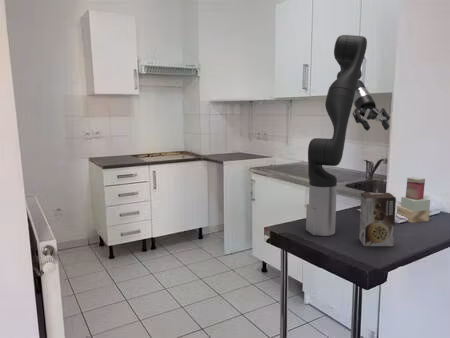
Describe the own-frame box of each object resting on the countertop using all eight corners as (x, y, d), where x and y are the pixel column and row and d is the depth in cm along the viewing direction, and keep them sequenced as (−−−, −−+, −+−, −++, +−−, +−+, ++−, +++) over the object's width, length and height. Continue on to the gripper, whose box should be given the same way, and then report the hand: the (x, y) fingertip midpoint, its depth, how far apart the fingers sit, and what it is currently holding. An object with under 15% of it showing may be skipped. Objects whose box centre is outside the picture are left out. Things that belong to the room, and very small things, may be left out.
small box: (405, 197, 138) (406, 177, 137) (410, 196, 141) (412, 176, 140) (418, 200, 134) (420, 179, 133) (423, 198, 137) (425, 178, 136)
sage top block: (413, 211, 134) (414, 201, 133) (400, 206, 141) (401, 196, 140) (429, 210, 136) (430, 199, 135) (416, 205, 142) (416, 195, 142)
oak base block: (410, 223, 135) (411, 211, 134) (396, 217, 142) (397, 206, 142) (428, 221, 136) (429, 210, 136) (413, 215, 144) (414, 204, 143)
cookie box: (386, 239, 118) (389, 192, 115) (393, 247, 112) (397, 197, 109) (358, 239, 119) (360, 192, 116) (364, 246, 113) (366, 197, 110)
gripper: (351, 94, 148) (366, 123, 139) (381, 94, 151) (398, 122, 142) (344, 107, 154) (357, 135, 145) (373, 106, 157) (388, 134, 148)
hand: (377, 129), depth 143 cm, fingers open, 8 cm apart
